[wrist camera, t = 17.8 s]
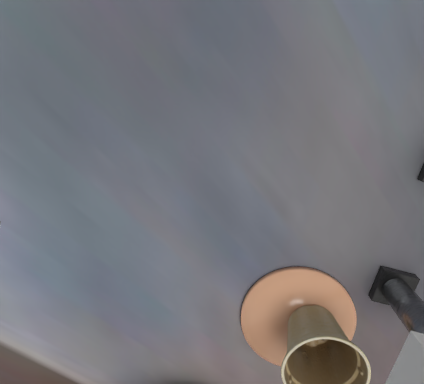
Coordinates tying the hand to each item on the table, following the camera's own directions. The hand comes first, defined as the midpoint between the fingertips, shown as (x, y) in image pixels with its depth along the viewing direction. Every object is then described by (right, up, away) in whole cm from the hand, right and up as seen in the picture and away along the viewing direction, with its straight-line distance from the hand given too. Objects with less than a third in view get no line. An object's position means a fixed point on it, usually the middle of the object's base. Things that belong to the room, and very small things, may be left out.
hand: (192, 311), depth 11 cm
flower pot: (+14, -14, +34) cm, 39 cm away
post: (+24, -8, +33) cm, 41 cm away
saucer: (+12, -13, +35) cm, 40 cm away
